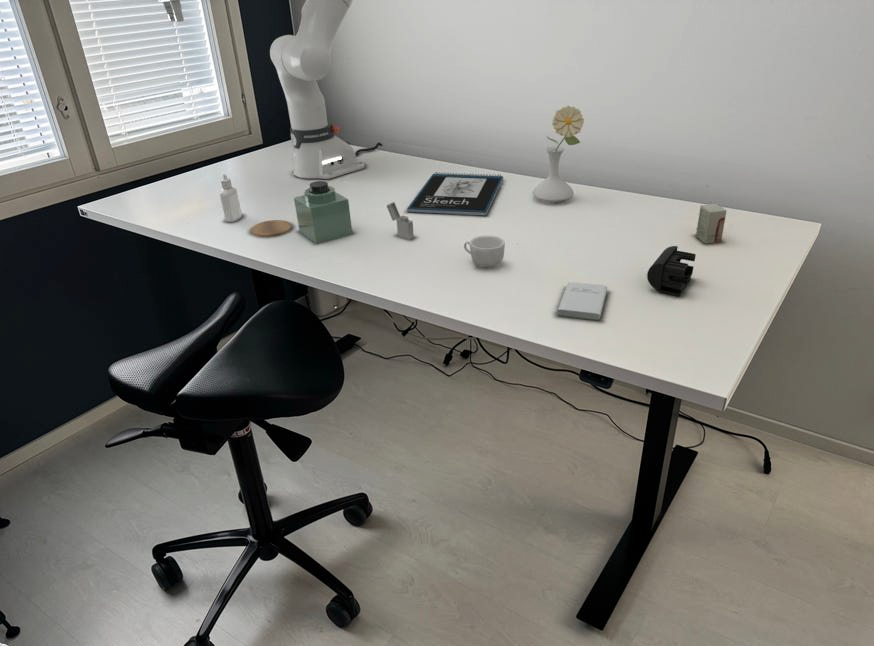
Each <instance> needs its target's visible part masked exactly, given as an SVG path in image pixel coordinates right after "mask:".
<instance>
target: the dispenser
mask: <svg viewBox="0 0 874 646" xmlns="http://www.w3.org/2000/svg"><path fill="white" fill-rule="evenodd" d="M328 189H329V191H328V192H327V193H322V194H312V193H311V191H310V187H308V188H306V189H305V190H304V192H303V194H302V195H298V196H295V197H293V203H294V207H295V213H296V214H295V215H296V220H297V226H298V231H299V233H301V234H302V235H304V236H305V237H306V238H308V239H309V240H311V241H312V242H313V243H314V244H320V243H324V242H327V241H331V240H334V239H339V238H342V237H345V236H348V235H352V234H353V227H352V226H353V225H352V219H351V211H350V201H349V198H347V197H345V196H343V195H341V194H340V193H338V192H336V188H335V187H334V186H331V185H328Z"/></svg>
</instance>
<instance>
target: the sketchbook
mask: <svg viewBox="0 0 874 646" xmlns="http://www.w3.org/2000/svg"><path fill="white" fill-rule="evenodd" d="M503 181H504V176H503V175H502V174H495V173H494V174H491V173H489V174H488V173H469V172H468V173H465V172H464V173H460V172H441V171H440V172H438V171H436V172H434V173H432V174H431V176H430V177H429V178H428V180H427V181H426V182H425V184H424V185H423V187H422V188H421V189H420V191H419V192H418V194H416V196H415V197H414V199H413V200H412V202H410V204H409V206H407V213H414V214H415V213H416V214H434V215H435V214H436V215H457V216H476V217H477V216H478V217H487V215H488V213H489V211H490V209H491V207H492V204H493V202H494V201H495V198H496V196H497V194H498V192H499V190H500V187H501V185H502V183H503Z"/></svg>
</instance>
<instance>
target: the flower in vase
mask: <svg viewBox="0 0 874 646" xmlns="http://www.w3.org/2000/svg"><path fill="white" fill-rule="evenodd" d="M584 123H585V118H584V117H583V114H582V110H580V109H579V108H576V107H575V106H570V105H567V106H562V107H561V109H558V110H556V111H555V114H554V117H553V119H552V122H551V125H552V127H553V129H554V130H555V134H557V135H560V136H561V137H562V136H563V138H562V139H561V141H560V142H558V141H557V140H556V139H553V138H551V137H549V136H548V135H546V138H547V139H548V140H550V141H552V142H554V143H556V144H558V145H551V146H547V147H545V151H546V153H547V154H548V158H549V174H548V176H547V177H546V178H544V179H543V180H542V181H540V183H538V184H537V185H536V186H535V187H534V188H533V190H532V195H533V198H535V199H537V200H539V201H542V202H547V203H561V202H565V201H568V200H570V199H571V198H572V197H573V196H574V194H575V192H574V189H573V188H572V187H571V185H569V184H568V183H567V182H566V181H564V179H562V178H561V177H560V175H559V164H560V159H561V156H562V154H563V152H564V151H565V147H562V146H561V145H562V143H563V142H564V141H565V143H566V144H567V145H568V146H575V145H579V144H580V143H581V141H580V140H579V138H578V137H576V136H575V135H577V134H580V132H581V130H582V128H583V126H584V125H583V124H584Z"/></svg>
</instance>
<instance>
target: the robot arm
mask: <svg viewBox="0 0 874 646" xmlns="http://www.w3.org/2000/svg"><path fill="white" fill-rule="evenodd" d="M156 1H157V2H158V3H162V5H163V8H164V10H165V13H166V15H167V17H168V20H169V22H176V23H179V22H184V21H185V19H184V15H183V8H182V3H181V0H156ZM353 1H354V0H305V2H304V4H303V6H302V8H301V11H300V12H301V19H300V23H299V27H298V31H297V33H296V35H294V34H286V35H281V36H279V37H277V38H275V40H273V42H272V43H271V45H270V49H269V56H270V60H271V62H272V63H273V65H274V67H275V69H276V73H277V75H278V79H279V83H280V85H281V87H282V90H283V93H284V96H285V100H286V105H287V110H288V116H289V121H290V128H289V130H290V140H291V143H292V147H293V159H294V160H293V161H294V163H293V172H292V175H294V176H295V177H297V178H300V179H320V180H321V179H322V180H330V179H335V178H337V177H340V176H343V175H346V174H349V173H352V172H356V171H359V170H363V169H364V168H366V167H365V163H364V162H363V160H361V159H360V158H358V155H359V153H362V152H371V151H375V150H376V149H378V148H379V147H383V143H381V142H379V141H378V142H377V143H376V144H375V146H373V147H366V148H360V149H357V150H356V151H355V150H354V148H353V147H352V145H351V144H350V142H349V141H348V142H346V141H344V140H343V139H341V138H339V137H338V136H337V135H335V134H339V133H340V132H341V128H340V127H339V126H337V125H332V124H330V123H328V116H327V108H326V101H325V97H324V95H323V93H322V91H321V89H320V87H319V85H318V81H320V80H323V79H324V78H325V77H327V75H328V74H329V72H330V70H331V66H332V61H331V60H332V59H331V53H332V49H333V45H334V41H335V38H336V35H337V33H338V30H339V28H340V27H341V24H342V23H343V20H344V19H345V17H346V15H347V13H348V12H349V9H350V7H351V5H352V3H353Z"/></svg>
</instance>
